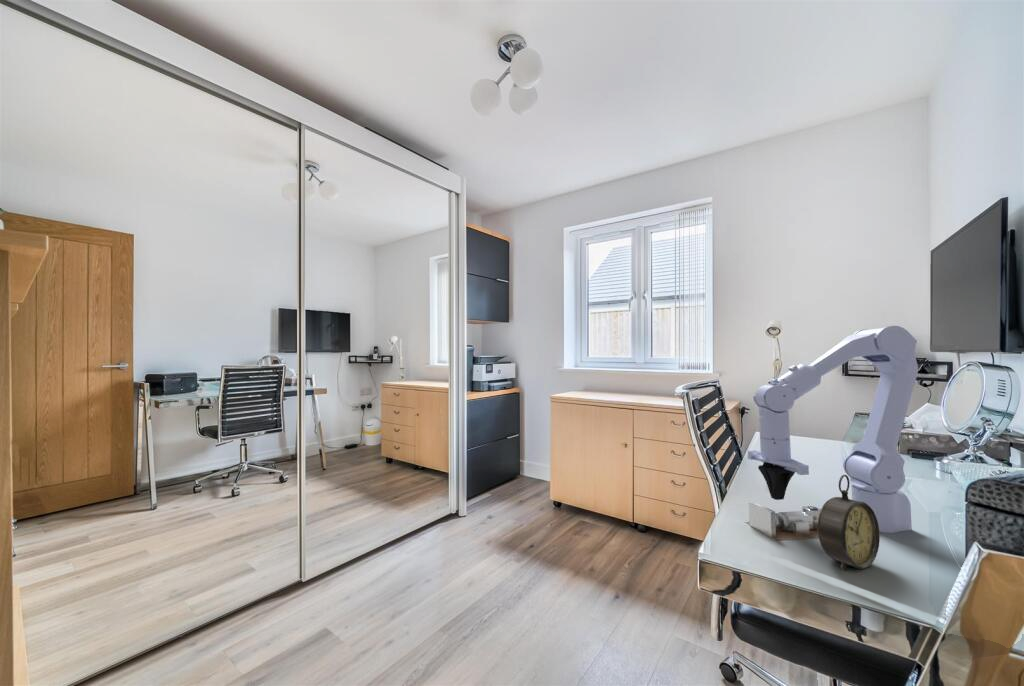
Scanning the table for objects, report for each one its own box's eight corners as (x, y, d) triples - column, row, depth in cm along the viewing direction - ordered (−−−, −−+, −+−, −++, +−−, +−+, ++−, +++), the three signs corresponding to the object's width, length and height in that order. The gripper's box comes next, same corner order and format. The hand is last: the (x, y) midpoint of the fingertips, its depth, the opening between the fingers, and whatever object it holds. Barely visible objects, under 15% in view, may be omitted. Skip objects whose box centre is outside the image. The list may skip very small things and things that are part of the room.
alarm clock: (848, 582, 64) (844, 482, 65) (811, 567, 69) (808, 474, 70) (883, 569, 68) (879, 475, 69) (847, 555, 73) (843, 467, 74)
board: (813, 522, 88) (813, 518, 88) (853, 540, 79) (852, 535, 79) (744, 526, 86) (744, 521, 86) (777, 545, 77) (777, 540, 77)
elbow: (812, 522, 85) (811, 504, 85) (828, 529, 82) (827, 510, 82) (772, 526, 83) (772, 507, 83) (787, 533, 80) (787, 513, 80)
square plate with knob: (786, 522, 85) (786, 499, 86) (811, 534, 80) (810, 509, 80) (749, 524, 84) (748, 501, 85) (771, 537, 78) (770, 511, 79)
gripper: (735, 433, 95) (738, 489, 95) (787, 445, 81) (790, 511, 80) (761, 432, 96) (763, 487, 96) (815, 443, 82) (819, 509, 81)
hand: (777, 498), depth 88 cm, fingers closed
